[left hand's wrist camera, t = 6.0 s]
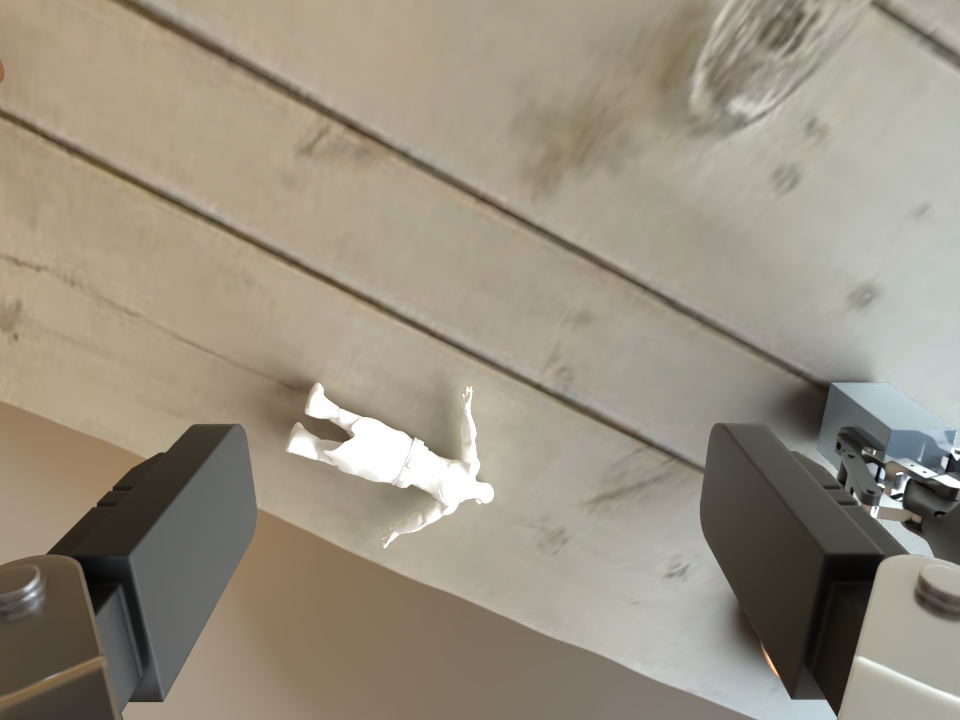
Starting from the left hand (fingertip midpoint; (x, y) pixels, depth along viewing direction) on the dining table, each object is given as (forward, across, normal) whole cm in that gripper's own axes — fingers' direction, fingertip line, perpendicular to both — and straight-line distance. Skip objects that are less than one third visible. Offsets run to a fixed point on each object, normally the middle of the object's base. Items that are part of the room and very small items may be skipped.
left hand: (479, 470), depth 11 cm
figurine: (+40, -7, -21) cm, 46 cm away
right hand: (+35, +31, -18) cm, 50 cm away
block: (+39, +31, -18) cm, 53 cm away
